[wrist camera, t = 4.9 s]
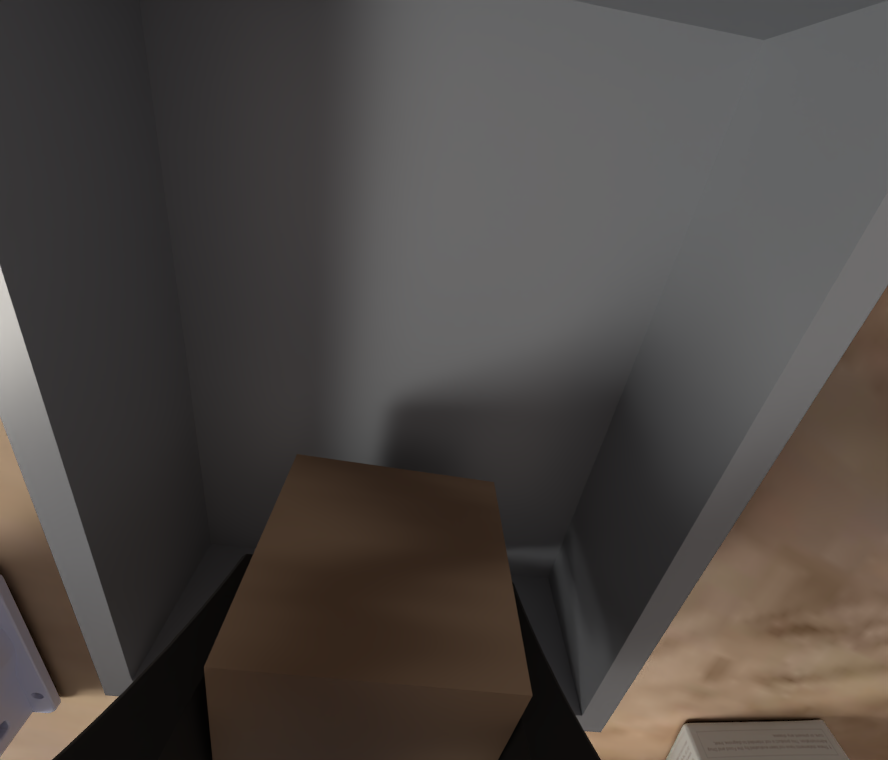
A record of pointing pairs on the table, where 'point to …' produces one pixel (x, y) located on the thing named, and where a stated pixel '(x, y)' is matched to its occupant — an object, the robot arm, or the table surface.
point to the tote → (428, 281)
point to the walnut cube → (371, 624)
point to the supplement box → (757, 741)
